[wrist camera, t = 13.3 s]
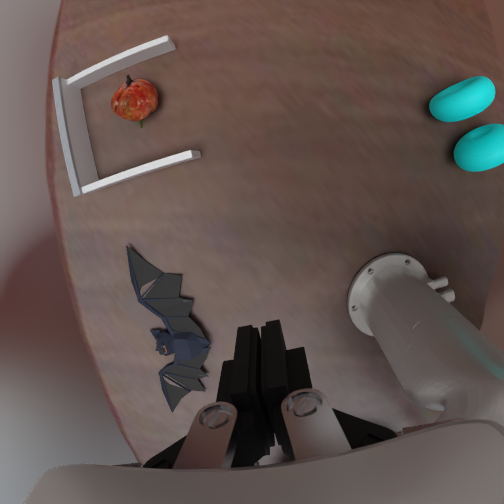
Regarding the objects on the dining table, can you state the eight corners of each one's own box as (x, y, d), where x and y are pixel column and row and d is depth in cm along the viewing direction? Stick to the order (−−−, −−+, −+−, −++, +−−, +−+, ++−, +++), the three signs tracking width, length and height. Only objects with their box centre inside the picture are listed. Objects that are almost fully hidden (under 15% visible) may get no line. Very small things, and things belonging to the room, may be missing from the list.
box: (174, 44, 32) (162, 29, 26) (201, 157, 36) (191, 157, 31) (74, 86, 33) (52, 80, 28) (95, 191, 37) (74, 196, 32)
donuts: (457, 80, 31) (500, 68, 22) (488, 141, 33) (532, 143, 24) (412, 107, 33) (453, 96, 23) (446, 172, 35) (491, 179, 26)
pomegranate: (169, 118, 36) (165, 65, 30) (149, 142, 33) (141, 84, 27) (131, 115, 37) (124, 65, 30) (109, 138, 33) (98, 84, 27)
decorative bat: (223, 425, 44) (165, 420, 45) (228, 408, 48) (172, 404, 49) (189, 245, 35) (115, 249, 36) (198, 235, 39) (129, 241, 40)
